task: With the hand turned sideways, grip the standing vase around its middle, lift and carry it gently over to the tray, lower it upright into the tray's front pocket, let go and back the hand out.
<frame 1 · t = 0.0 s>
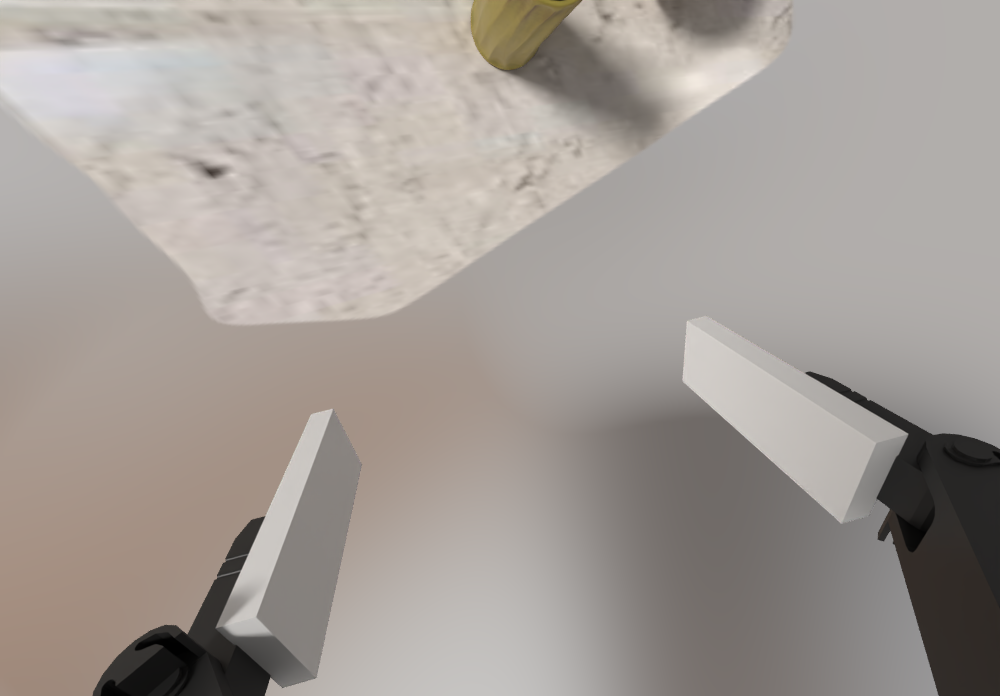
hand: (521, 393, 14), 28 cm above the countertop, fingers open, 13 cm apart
vase: (506, 26, 31), on the countertop
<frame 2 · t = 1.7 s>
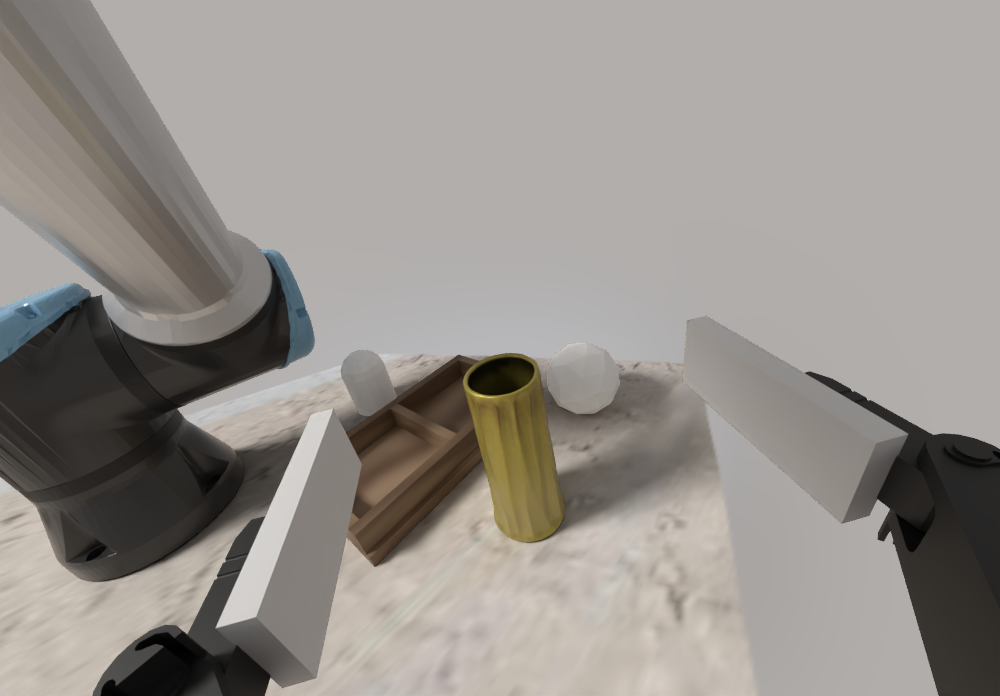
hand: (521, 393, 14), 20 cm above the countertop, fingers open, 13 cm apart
tray: (430, 445, 41), on the countertop
white dome-topped block: (377, 404, 50), on the countertop
vase: (529, 511, 32), on the countertop
ball: (584, 406, 42), on the countertop
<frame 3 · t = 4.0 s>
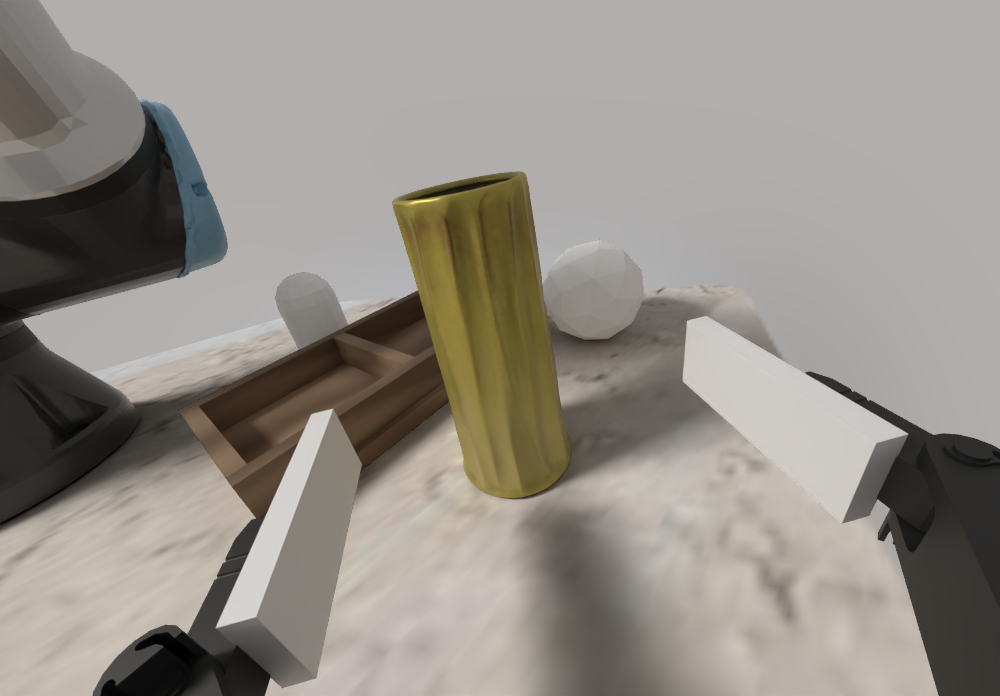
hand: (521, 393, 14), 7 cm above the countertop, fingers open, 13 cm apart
tray: (385, 385, 30), on the countertop
white dome-topped block: (329, 347, 39), on the countertop
vase: (517, 457, 21), on the countertop
ball: (594, 334, 32), on the countertop
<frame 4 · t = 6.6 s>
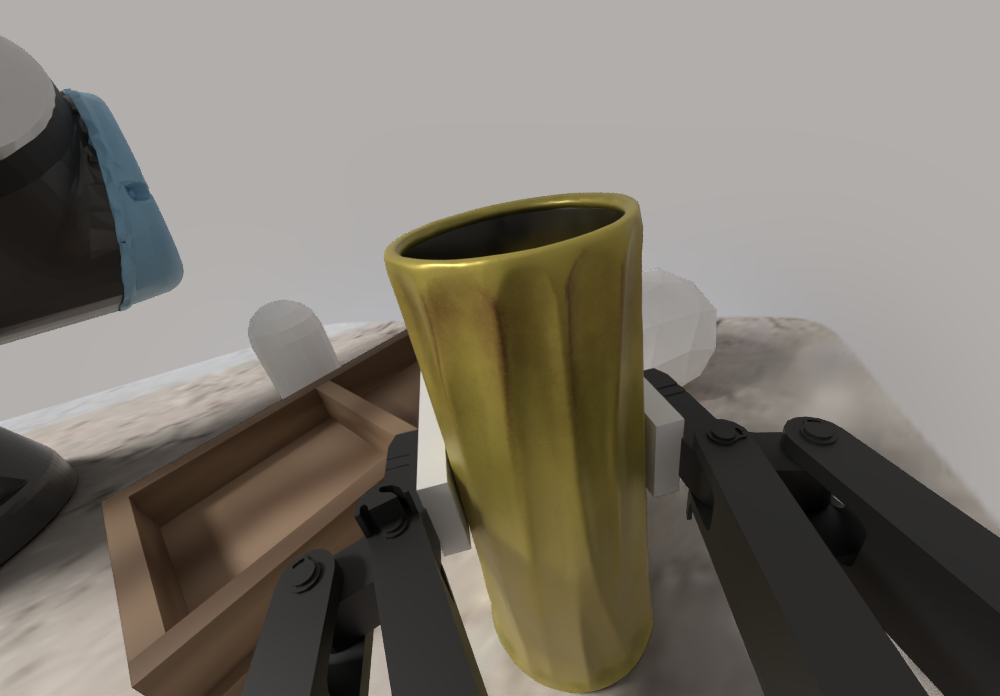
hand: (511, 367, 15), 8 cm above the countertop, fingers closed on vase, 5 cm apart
tray: (381, 451, 24), on the countertop
white dome-topped block: (315, 387, 33), on the countertop
vase: (569, 596, 15), on the countertop, touching gripper
ball: (645, 384, 25), on the countertop
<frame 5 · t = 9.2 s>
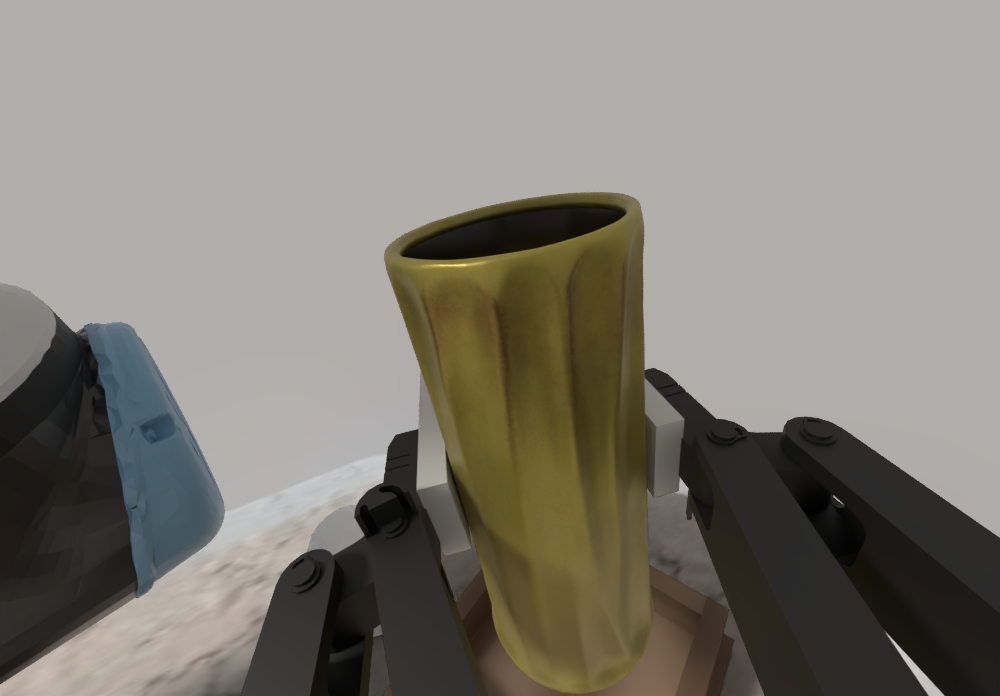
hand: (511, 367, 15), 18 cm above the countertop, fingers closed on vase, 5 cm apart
white dome-topped block: (381, 596, 26), on the countertop
vase: (569, 597, 15), point 10 cm above the countertop, touching gripper
ball: (852, 674, 19), on the countertop
when the fingers open (10 cm above the countertop, at t = 11.9 s): vase drops 1 cm, resting on tray.
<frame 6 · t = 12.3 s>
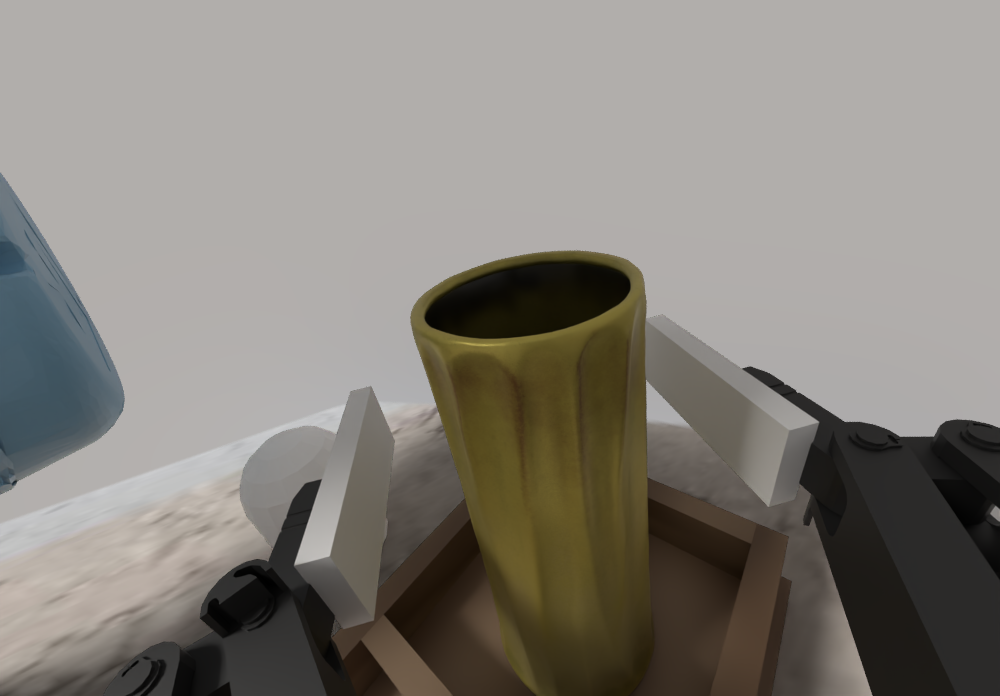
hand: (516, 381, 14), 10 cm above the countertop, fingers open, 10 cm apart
white dome-topped block: (343, 543, 22), on the countertop
vase: (574, 616, 15), point 1 cm above the countertop, touching tray
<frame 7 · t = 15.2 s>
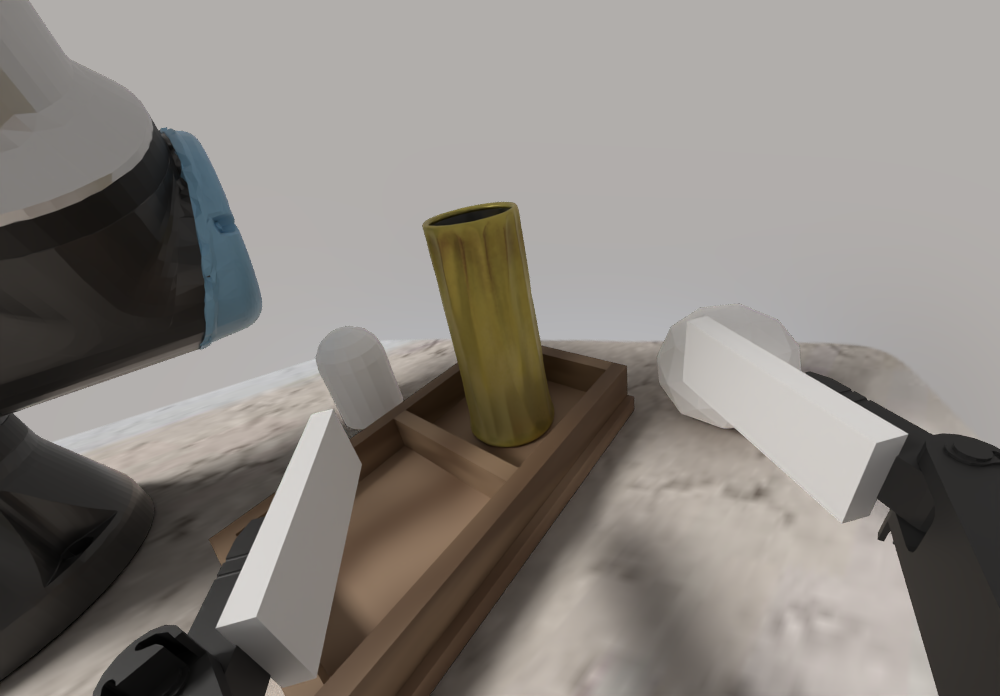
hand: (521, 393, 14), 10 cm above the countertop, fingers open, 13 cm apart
tray: (462, 482, 24), on the countertop
white dome-topped block: (374, 410, 33), on the countertop
vase: (512, 420, 27), point 1 cm above the countertop, touching tray
ball: (717, 413, 25), on the countertop
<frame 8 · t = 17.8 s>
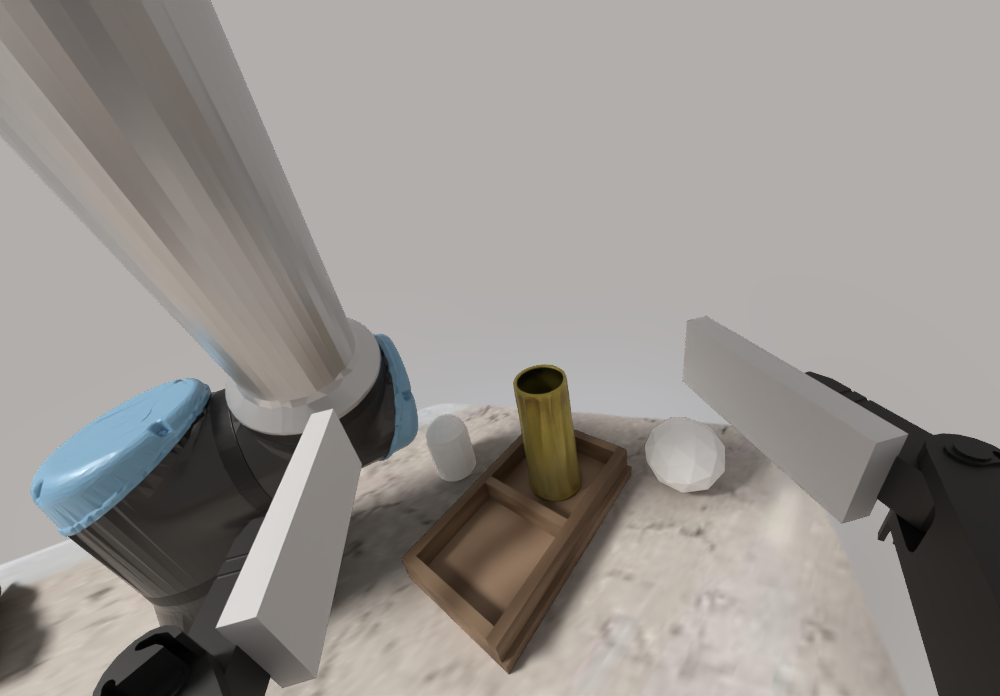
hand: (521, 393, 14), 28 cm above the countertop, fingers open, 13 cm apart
tray: (528, 521, 40), on the countertop
white dome-topped block: (457, 466, 49), on the countertop
vase: (555, 480, 43), point 1 cm above the countertop, touching tray
ball: (681, 478, 42), on the countertop
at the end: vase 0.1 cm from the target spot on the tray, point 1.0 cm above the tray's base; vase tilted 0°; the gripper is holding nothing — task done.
